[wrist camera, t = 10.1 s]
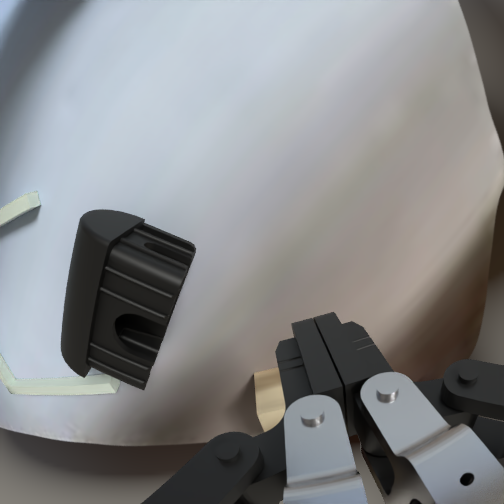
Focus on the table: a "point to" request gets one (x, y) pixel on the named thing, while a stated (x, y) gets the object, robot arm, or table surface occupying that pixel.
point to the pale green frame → (48, 385)
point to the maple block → (269, 398)
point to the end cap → (121, 294)
